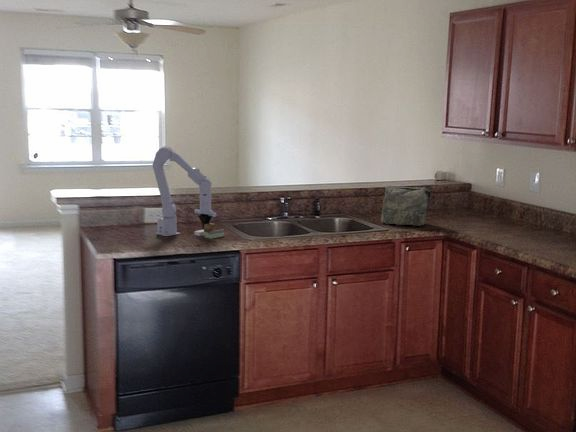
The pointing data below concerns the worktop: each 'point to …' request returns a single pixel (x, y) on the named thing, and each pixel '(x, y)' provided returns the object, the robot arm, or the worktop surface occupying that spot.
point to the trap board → (212, 233)
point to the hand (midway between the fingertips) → (205, 229)
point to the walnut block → (209, 227)
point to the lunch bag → (405, 205)
